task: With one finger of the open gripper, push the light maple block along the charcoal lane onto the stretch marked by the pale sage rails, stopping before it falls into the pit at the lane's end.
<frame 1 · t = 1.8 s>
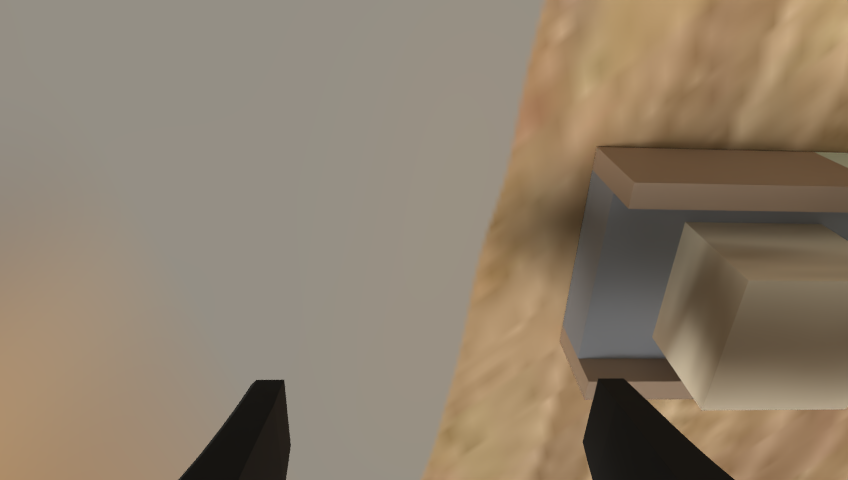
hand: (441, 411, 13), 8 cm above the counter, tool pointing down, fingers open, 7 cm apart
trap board: (838, 256, 21), on the counter
maple block: (732, 283, 19), point 2 cm above the counter, touching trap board
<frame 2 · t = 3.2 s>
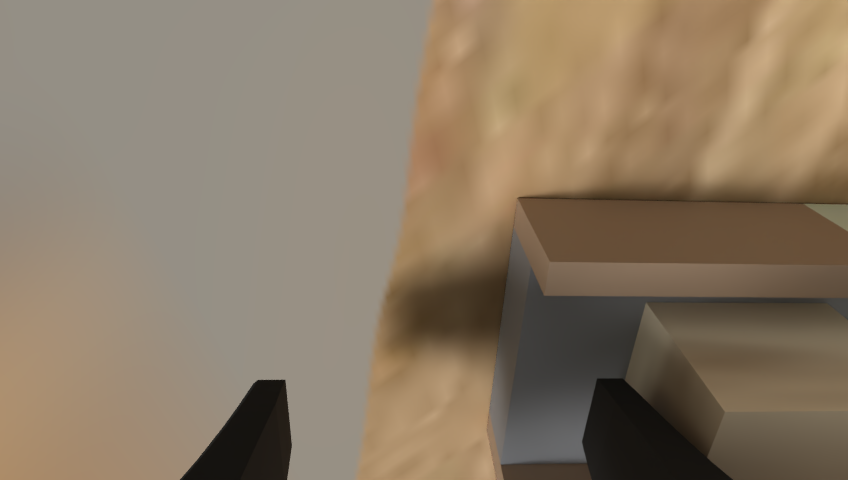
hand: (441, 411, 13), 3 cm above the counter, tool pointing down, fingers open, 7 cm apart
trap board: (834, 329, 16), on the counter
maple block: (710, 375, 14), point 2 cm above the counter, touching gripper
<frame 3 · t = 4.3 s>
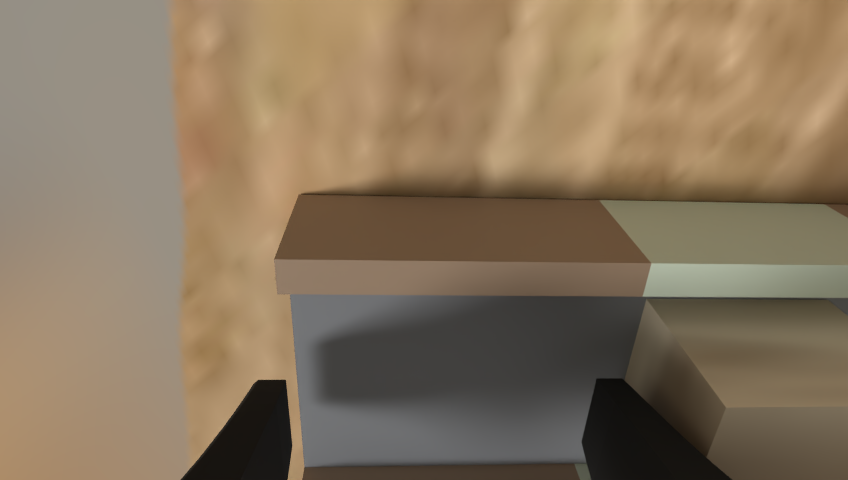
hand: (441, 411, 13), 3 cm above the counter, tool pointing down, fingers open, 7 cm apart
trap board: (657, 328, 16), on the counter
maple block: (711, 372, 14), point 2 cm above the counter, touching gripper, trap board
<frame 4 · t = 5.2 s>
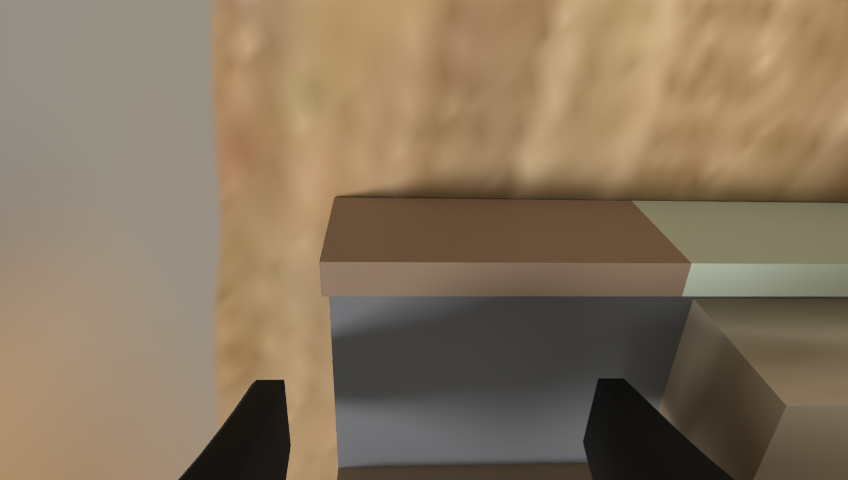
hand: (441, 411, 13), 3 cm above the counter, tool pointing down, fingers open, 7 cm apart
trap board: (686, 327, 16), on the counter
maple block: (754, 371, 14), point 2 cm above the counter, touching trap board
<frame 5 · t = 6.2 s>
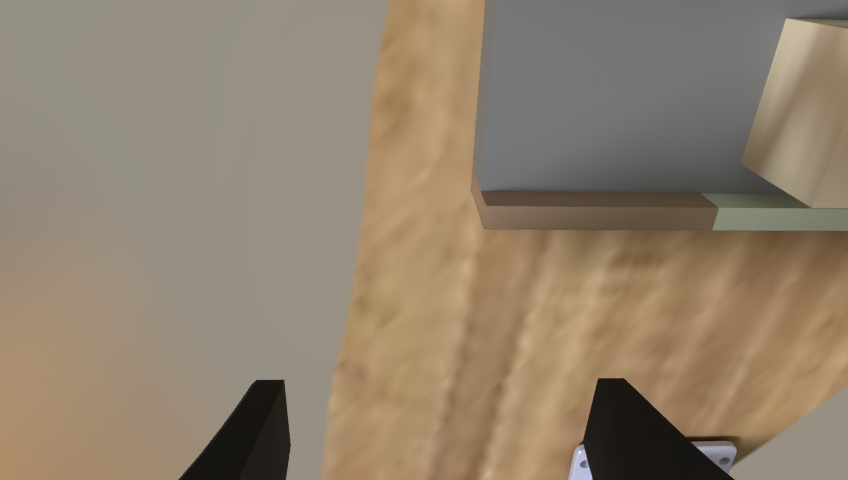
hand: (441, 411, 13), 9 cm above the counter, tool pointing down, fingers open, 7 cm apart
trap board: (766, 85, 19), on the counter
maple block: (830, 97, 17), point 2 cm above the counter, touching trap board
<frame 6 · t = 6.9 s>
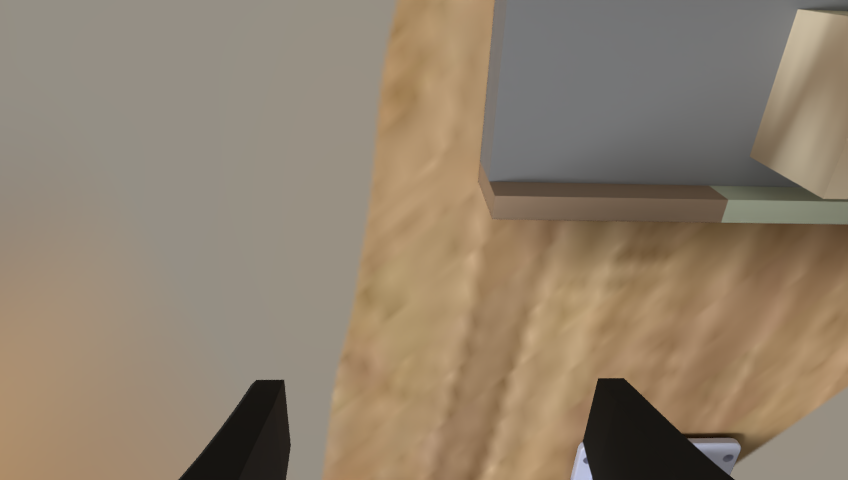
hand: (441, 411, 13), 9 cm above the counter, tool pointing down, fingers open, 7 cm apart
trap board: (775, 78, 19), on the counter
maple block: (840, 89, 17), point 2 cm above the counter, touching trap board
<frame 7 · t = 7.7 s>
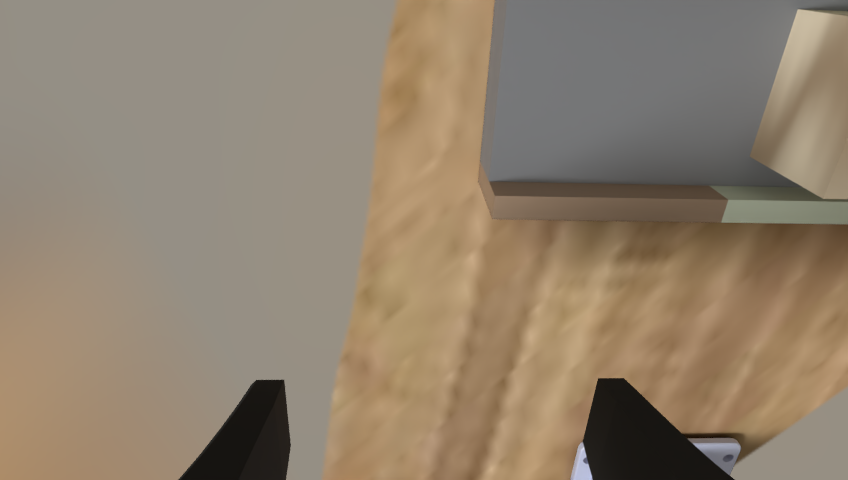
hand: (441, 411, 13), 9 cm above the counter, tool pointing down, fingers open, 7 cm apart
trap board: (775, 78, 19), on the counter
maple block: (840, 89, 17), point 2 cm above the counter, touching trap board
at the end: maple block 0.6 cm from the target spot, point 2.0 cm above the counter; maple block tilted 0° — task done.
